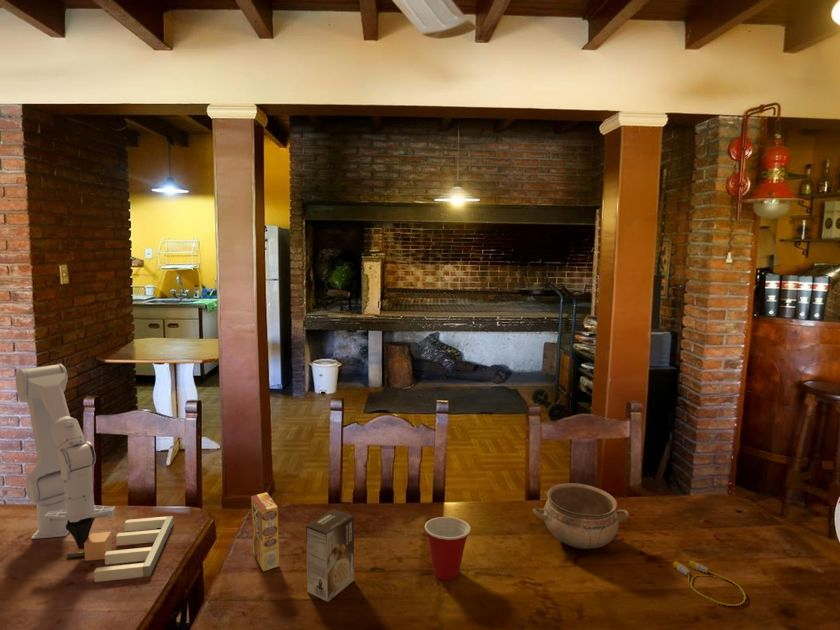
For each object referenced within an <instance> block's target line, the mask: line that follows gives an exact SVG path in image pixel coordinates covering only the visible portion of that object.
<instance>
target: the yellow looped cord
mask: <svg viewBox="0 0 840 630" xmlns="http://www.w3.org/2000/svg"><path fill="white" fill-rule="evenodd" d="M689 567H691V568H690V569H692V568H693V569H692V570H694V569H696V570H695V571H697V570H699V571H698V572H700V571H702V572H701V573H704V572H705V573H704V574H696V575H693V576H691V579H690V575H691V572H690V570H689ZM672 568H674V569H676V570H677V571H678V572H679V573H680V574H683V575H684V576H686V577H687V583H688V582H689V584H690V588H691V589H692V591H693V592H694V591H695V593H696V594H697V595H699V596H700V595H701V596H700V597H702V598H703V597H705V598H704V599H705V600H707V599H708V600H707V601H709V602H710V603H713V602H714V603H713V604H715V603H717V604H716V605H718V604H720V605H719V606H722V605H726V606H725V607H728V606H739V605H741V604H743V603H744V602H745V600H746V599H747V595H746V593H745V590H744V589H743V588H742V587H741V586H740V585H739V584H738V583H736V582H735V581H733V580H731V579H729V578H727V577H725V576H722V575H720V574H717V573H715V572H713V571H710V569H709V568H708V567H706V566H704V565H703V564H700V563H698V562H695V560H693V559H692V560H689V561H688V568H687V567H686V566H684V565H683V564H682V563H680V562H679V561H677V560H675V561H673V563H672ZM707 572H708V573H710V574H712V576H713V577H712V578H715V577H721V578H723V579H726V580H728V581H730V582H732V583H733V585H734V584H735V585H734V586H736V585H737V586H738V587H739V588H740V589H739V588H738V587H737V586H736V587H737V588H738V589H739V591H740V590H741V591H742V593H743V595H744V597H743V600H742V601H741V602H739V603H733V604H731V603H726V602H722V601H718V600H715V599H713V598H710V597H709V596H706V595H704V594H703V593H701V592H700V591H697V589H695V588H694V587H693V581H694V579H695V578H697V576H700V577H706V576H709V574H708V573H707ZM705 574H706V575H705ZM707 574H708V575H707ZM723 579H722V580H723ZM726 580H725V581H726ZM728 581H727V582H728ZM730 582H729V583H730ZM732 583H731V584H732ZM741 591H740V592H741ZM742 593H741V594H742ZM743 595H742V596H743ZM745 603H746V602H745Z"/></svg>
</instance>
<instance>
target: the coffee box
mask: <svg viewBox="0 0 840 630" xmlns="http://www.w3.org/2000/svg"><path fill="white" fill-rule="evenodd" d="M354 521H355V518H354V515H352V514H349V513H347V512H343V511H341V510H338V509H335V508H332V509H331V510H329V511H327V512H326V513H325V514H322V515H321V516H319V517H318V518H316V519H314V520H312V521H311V522H310V523H308V524H306V525H305V526H306V527H305V529H306V531H305V532H306V536H305V537H306V538H305V539H306V583H307V584H306V586H307V587H306V589H307V591H306V592H307V593H309V594H311V595H313V596H315V597H317V598H318V599H321V600H323V601H325V602H326V603H327V602H330V601H331V600H332V599H333V598H335V597H336V596H337V595H338V594H340V593H341V592H342V591H343V590H344V589H346V588H347V587H348V586H349V585H350V584H352V583H353V582H354V581H355V525H354Z"/></svg>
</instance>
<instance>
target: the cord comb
mask: <svg viewBox="0 0 840 630" xmlns="http://www.w3.org/2000/svg"><path fill="white" fill-rule="evenodd" d="M173 526H174V516H173V515H169V516H159V517H157V516H156V517H155V516H154V517H144V518H134V519H126V520H125V522H124V532H117V534H116V536H115V538H116V540H115V541H116V546H117V547H118V546H128V545H136V544H146V543H153V545H152V546H148V547H147V546H146V547H138V548H136V547H135V548H129V549H127V548H126V549H117V550H111V551H107V552H106V553H105V559H104V564H105V565H107V566H99V567H96V568H95V570H94V571H93V577H94V583H100V582H106V581H108V582H109V581H116V580H125V579H134V578H135V579H136V578H144V577H150V576H151V575H152V573H153V571H154V569H155V566H156V564H157V561H158V560H159V557H160V556H161V553H162V550H163V548H164V546H165V544H166V541H167V540H168V537H169V535H170V534H171V531H172V529H173ZM157 528H161V529H157ZM171 528H172V529H171ZM143 561H144V562H143ZM134 562H136V563H134ZM137 562H140V563H137ZM123 563H127V564H123ZM128 563H129V564H128ZM130 563H131V564H130ZM117 564H119V565H117ZM120 564H121V565H120ZM108 565H111V566H108Z"/></svg>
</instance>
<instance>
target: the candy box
mask: <svg viewBox="0 0 840 630" xmlns="http://www.w3.org/2000/svg"><path fill="white" fill-rule="evenodd" d="M250 500H251V504H250V505H251V525H252V526H251V527H252V531H251V532H252V549H253V555H254V557H255V559H256V560H257V563H258V564H259V566H260V568H261V570H262V572H266V571H270V570H272V569H276V568H278V567H280V544H279V541H280V539H279V536H280V535H279V507H278V505H277V504H276V503H275V501H274V500H273V498H272V497H271V496H270V495H269V493H268V492H267V491H266V492H263V493H259V494H255V495H252V496H251V497H250Z"/></svg>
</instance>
